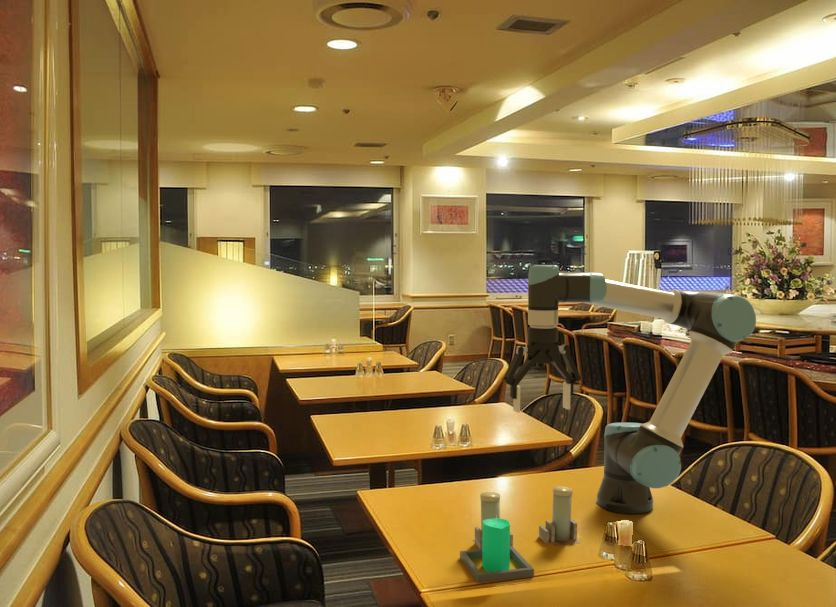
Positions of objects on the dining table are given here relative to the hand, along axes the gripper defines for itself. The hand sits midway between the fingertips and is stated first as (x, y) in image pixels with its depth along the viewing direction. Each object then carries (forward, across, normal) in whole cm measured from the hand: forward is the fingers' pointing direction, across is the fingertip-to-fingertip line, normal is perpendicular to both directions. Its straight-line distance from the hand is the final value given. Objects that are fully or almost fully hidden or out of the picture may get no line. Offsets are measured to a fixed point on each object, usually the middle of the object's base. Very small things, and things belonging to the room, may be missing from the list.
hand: (541, 410), depth 182 cm
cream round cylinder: (+29, -1, +10) cm, 31 cm away
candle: (+30, +20, +21) cm, 42 cm away
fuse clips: (+31, +8, +12) cm, 34 cm away
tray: (+31, +20, +21) cm, 42 cm away
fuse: (+29, +17, +10) cm, 35 cm away
